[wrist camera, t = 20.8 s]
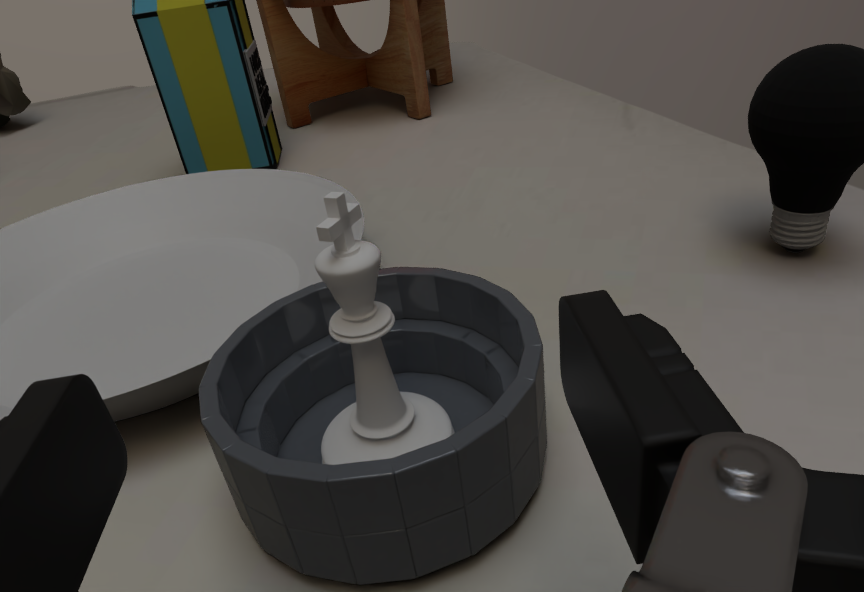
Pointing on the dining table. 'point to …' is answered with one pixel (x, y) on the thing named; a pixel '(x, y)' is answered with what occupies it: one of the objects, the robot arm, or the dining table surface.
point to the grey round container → (386, 478)
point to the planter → (356, 55)
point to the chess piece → (368, 353)
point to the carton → (210, 82)
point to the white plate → (153, 280)
